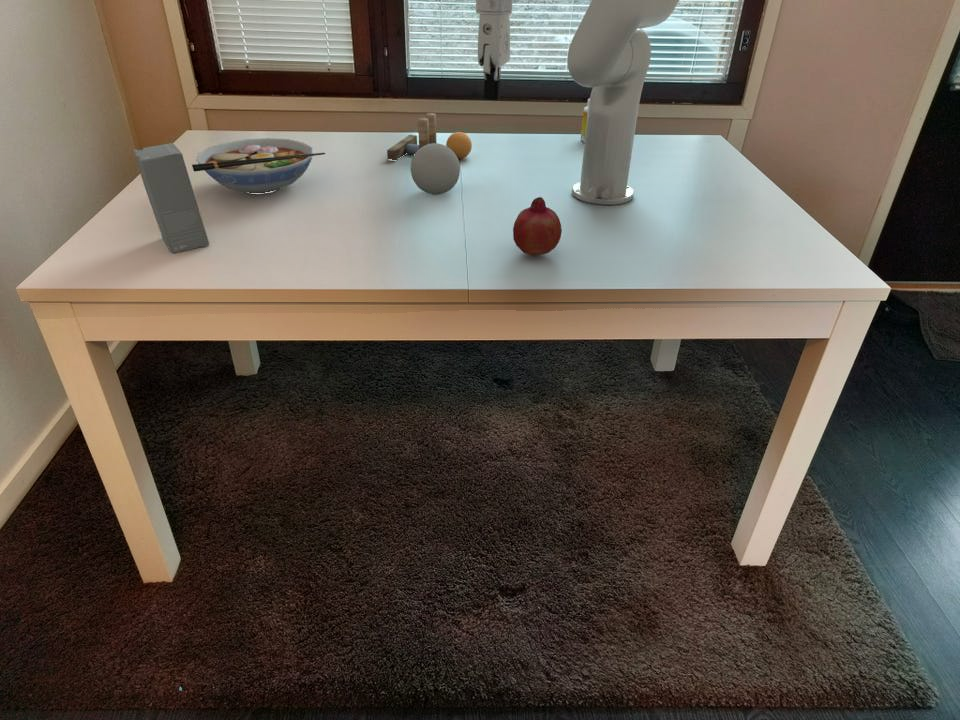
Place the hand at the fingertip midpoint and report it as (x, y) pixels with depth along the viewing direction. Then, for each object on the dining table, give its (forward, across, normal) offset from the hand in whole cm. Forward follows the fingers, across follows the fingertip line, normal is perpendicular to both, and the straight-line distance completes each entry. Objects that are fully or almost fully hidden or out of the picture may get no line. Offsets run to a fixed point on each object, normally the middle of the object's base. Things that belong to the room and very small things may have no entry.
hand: (491, 98), depth 143 cm
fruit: (+14, -47, -21) cm, 53 cm away
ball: (+14, -24, +5) cm, 28 cm away
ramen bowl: (+14, -33, +40) cm, 54 cm away
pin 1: (+14, -2, +16) cm, 21 cm away
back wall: (+14, 0, +22) cm, 26 cm away
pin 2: (+14, +2, +16) cm, 21 cm away
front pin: (+13, 0, +12) cm, 17 cm away
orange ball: (+11, 0, +8) cm, 14 cm away
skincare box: (+14, -61, +38) cm, 73 cm away
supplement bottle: (+14, +26, -20) cm, 36 cm away
